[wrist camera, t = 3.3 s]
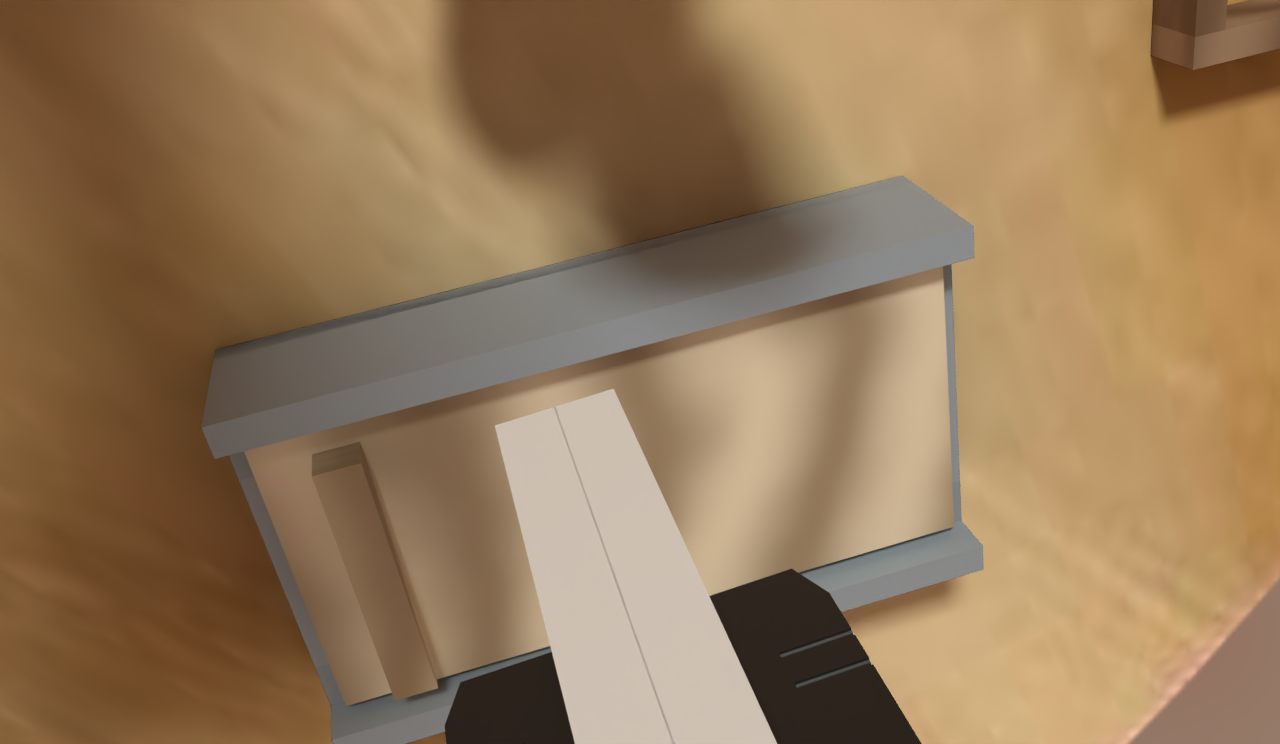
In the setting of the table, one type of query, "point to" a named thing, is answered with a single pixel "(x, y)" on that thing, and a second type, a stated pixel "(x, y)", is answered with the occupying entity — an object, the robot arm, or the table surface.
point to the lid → (676, 453)
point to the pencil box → (576, 332)
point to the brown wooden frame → (1213, 30)
